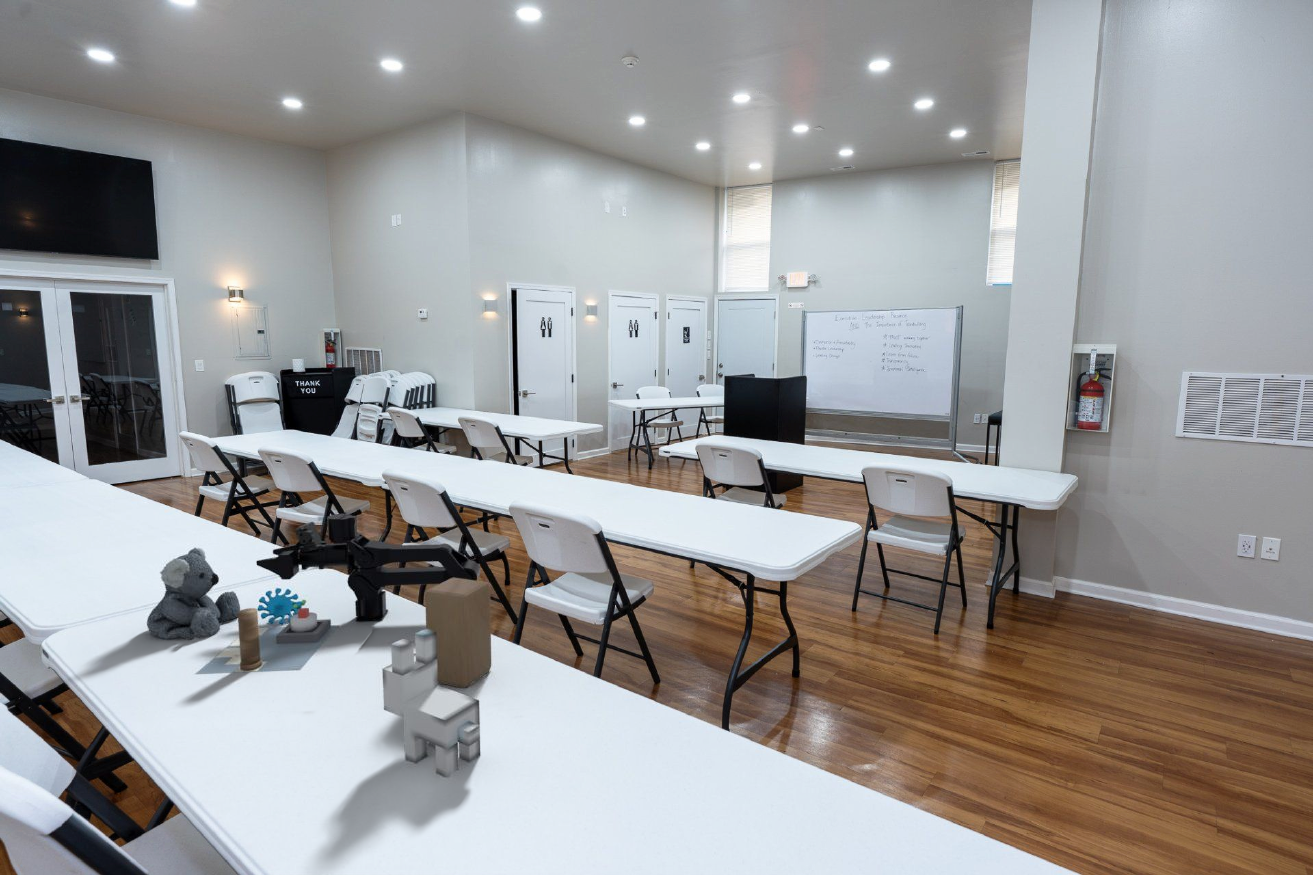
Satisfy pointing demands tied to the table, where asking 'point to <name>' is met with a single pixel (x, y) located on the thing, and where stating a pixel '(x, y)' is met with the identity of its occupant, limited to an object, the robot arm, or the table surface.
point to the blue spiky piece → (280, 606)
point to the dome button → (303, 620)
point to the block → (460, 629)
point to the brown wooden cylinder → (249, 639)
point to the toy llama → (430, 706)
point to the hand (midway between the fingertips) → (265, 557)
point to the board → (275, 649)
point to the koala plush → (190, 600)
